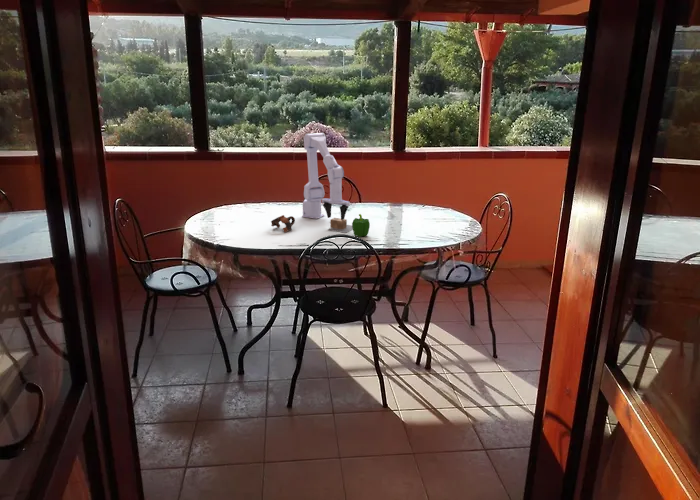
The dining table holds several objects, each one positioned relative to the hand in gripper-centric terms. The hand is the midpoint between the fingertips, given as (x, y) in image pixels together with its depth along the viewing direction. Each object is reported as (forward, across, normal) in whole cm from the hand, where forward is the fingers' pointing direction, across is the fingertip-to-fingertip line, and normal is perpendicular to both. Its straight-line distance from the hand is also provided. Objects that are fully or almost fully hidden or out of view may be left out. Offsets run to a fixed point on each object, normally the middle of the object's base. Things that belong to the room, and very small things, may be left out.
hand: (335, 218), depth 272 cm
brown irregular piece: (+5, -21, -15) cm, 26 cm away
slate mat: (+5, +4, 0) cm, 6 cm away
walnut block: (+2, -2, 0) cm, 3 cm away
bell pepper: (+5, +17, -6) cm, 19 cm away
